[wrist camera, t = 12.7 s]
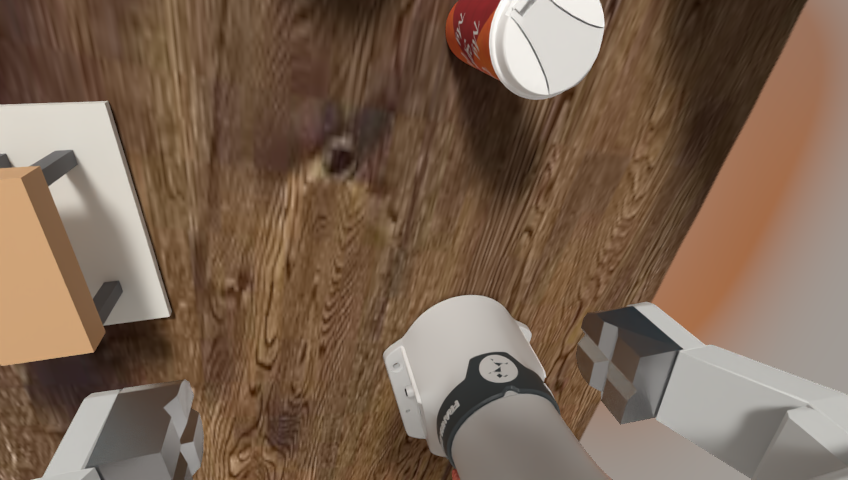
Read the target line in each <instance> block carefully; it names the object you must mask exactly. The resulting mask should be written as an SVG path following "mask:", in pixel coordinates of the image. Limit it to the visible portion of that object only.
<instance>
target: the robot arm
mask: <svg viewBox="0 0 848 480" xmlns="http://www.w3.org/2000/svg"><path fill="white" fill-rule="evenodd" d="M581 328H582V330H583V331H584V333H585V334H586V335H585V336H584V337H583V338H582V339H581V341H580V342H579V343H578V346H577V352H576V359H577V364H578V368H579V370H580V373H581V375H582V377H583V378H584V379H585V381H586V382H587V383H588V385H590V386H592V387H593V388H595V389H597V390H599V391H601V401H602V402H603V403H604V404H605V406H606V407H607V408H608V410H609V411H610V412H611V413H612V414H613V416H614V417H615V418H616V420H617V421H618V422H619V423H620V424H625V423H630V422H635V421H640V420H645V419H650V418H655V417H656V420H657V421H659V422H661V423H662V424H664V425H665V426H667V427H669V428H670V429H672V430H673V431H675V432H677V433H678V434H680V435H681V436H683V437H685V438H686V439H688V440H689V441H691V442H693V443H695V444H696V445H698V446H699V447H701V448H702V449H704V450H706V451H707V452H709V453H710V454H712V455H714V456H715V457H717V458H718V459H720V460H722V461H723V462H725V463H727V464H728V465H730V466H731V467H733V468H735V469H736V470H738V471H739V472H741V473H743V474H744V475H746V476H747V477H749V478H751V480H848V395H847V394H844V393H842V392H839V391H836V390H834V389H831V388H828V387H825V386H822V385H820V384H817V383H815V382H812V381H809V380H806V379H803V378H801V377H798V376H796V375H793V374H790V373H788V372H785V371H782V370H779V369H777V368H774V367H771V366H769V365H766V364H763V363H760V362H758V361H755V360H752V359H750V358H747V357H744V356H741V355H739V354H736V353H733V352H730V351H728V350H725V349H723V348H720V347H717V346H714V345H707V346H706V345H705V344H703V343H702V342H701V341H699V340H698V339H697V338H696V337H694V336H693V335H692V334H691V333H689V332H688V331H687V330H686V329H684V328H683V327H682V326H681V325H680V324H678V323H677V322H676V321H675V320H673V319H672V318H671V317H670V316H668V315H667V314H666V313H665V312H663V311H662V310H661V309H660V308H658V307H657V306H656V305H655V304H652V303H649V302H643V303H638V304H633V305H628V306H625V307H618V308H613V309H607V310H601V311H595V312H589V313H587V314H586V316H585V317H584V318H583V322H582V326H581ZM530 339H531V332H530V330H529V328H528V327H527V326H526V325H525V324H523V323H521V322H519V321H516V320H514V319H513V318H512V317H511V315H510V314H509V313H508V311H507V310H506V309H505V307H503V306H502V305H501V304H500V303H499V302H497V301H495V300H493V299H491V298H488V297H484V296H479V295H464V296H458V297H453V298H450V299H447V300H444V301H442V302H440V303H438V304H436V305H434V306H433V307H431V308H430V309H428V310H427V311H425V312H424V313H423V314H422V315H421V316H420V317H419V318H418V319H417V320H416V321H415V322H414V323H413V324H412V326H411V327H410V328H409V330H408V331H407V333H406V334H405V335H404V336H403V337H402V338H401V339H400V340H398V341H397V342H395V343H394V344H392V345H391V346H390V347H389V348H387V349H386V350H385V352H384V354H383V359H384V363H385V366H386V369H387V372H388V376H389V379H390V382H391V386H392V389H393V392H394V395H395V399H396V402H397V405H398V408H399V412H400V415H401V418H402V421H403V425H404V428H405V430H406V432H407V434H408V436H411V437H414V438H421V439H426V441H427V444H428V447H429V450H430V452H431V453H433V454H435V455H437V456H441V457H446V458H447V459H449V461H450V463H451V465H452V466H453V467H454V468H455V469H453V470H452V478H453V480H613V479H611V478H610V477H609V476H608V475H607V474H606V473H605V472H604V471H603V470H602V469H601V468H600V467H599V466H598V465H597V464H596V463H595V461H594V460H593V459H592V458H591V457H590V455H589V454H588V453H587V452H586V450H585V449H584V448H583V447H582V445H581V444H580V443H579V441H578V440H577V439H576V437H575V436H574V435H573V433H572V432H571V430H570V429H569V428H568V426H567V425H566V424H565V422H564V421H563V419H562V418H561V416H560V410H559V407H558V404H557V403H556V401H555V399H554V396H553V394H552V392H551V391H550V389H549V388H548V386H547V385H546V384H545V383H544V378H546V373H545V371H544V369H543V367H542V365H541V363H540V361H539V360H538V358H537V356H536V354H535V353H534V351H533V349H532V347H531V346H530V344H529V342H530ZM395 363H398V364H395ZM394 364H395V365H394ZM193 396H194V395H193V392H192V389H191V386H190V383H189V382H188V381H187V380H178V381H171V382H164V383H157V384H150V385H143V386H136V387H129V388H124V389H119V390H112V391H105V392H98V393H92V394H90V395H89V396H88V397H86V398H85V399H84V400H83V402H82V404H81V406H80V408H79V409H78V411H77V413H76V415H75V417H74V419H73V421H72V423H71V424H70V426H69V428H68V430H67V432H66V434H65V436H64V438H63V439H62V441H61V443H60V445H59V447H58V449H57V451H56V453H55V454H54V456H53V458H52V460H51V462H50V464H49V466H48V468H47V470H46V471H45V473H44V475H43V477H42V478H38V479H33V480H193V478H192V475H193V474H194V473H195V472H196V471H197V470H198V469H199V467H200V466H201V461H202V456H203V440H204V434H203V427H202V421H201V418H200V414H199V413H198V412H197V411H195V410H194V409H192V408H191V404H192V400H193Z"/></svg>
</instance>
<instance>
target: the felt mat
mask: <svg viewBox="0 0 848 480" xmlns="http://www.w3.org/2000/svg"><path fill="white" fill-rule="evenodd" d="M59 150H73V152H74V155H75V157H76V160H77V163H78V165H77V166H75V167H74V168H73V169H71V170H70V171H69V172H67V173H66V174H65V175H63V176H62V177H61V178H59V179H58V180H56V181H55V182H54V183H52V184H51V185H50V186H48V187H49V190H50V192H51V195H52V197H53V200H54V203H55V205H56V208H57V210H58V213H59V215H60V218H61V220H62V223H63V225H64V228H65V230H66V233H67V235H68V238H69V241H70V243H71V246H72V248H73V251H74V253H75V256H76V258H77V261H78V263H79V266H80V268H81V271H82V273H83V276H84V278H85V281H86V284H87V286H88V289H89V291H90V294H91V296H92V299H93V298H94V296H95V295H96V293H97V292H98V290H99V289H100V287H101V286H102V285H103V283H104V282H110V281H119V282H120V284H121V287H122V290H123V293H122V294H121V296H120V298H119V299H118V301H117V303H116V304H115V306H114V308H113V310H112V311H111V313H110V315H109V316H108V318H107V320H106V321H105V323H104V325H112V324H119V323H127V322H134V321H141V320H149V319H156V318H164V317H170V315H171V313H172V310H171V307H170V304H169V301H168V297H167V294H166V291H165V287H164V284H163V281H162V277H161V274H160V271H159V267H158V264H157V261H156V257H155V254H154V251H153V248H152V244H151V241H150V238H149V234H148V231H147V228H146V224H145V221H144V218H143V214H142V211H141V208H140V204H139V201H138V198H137V195H136V191H135V188H134V185H133V181H132V178H131V175H130V171H129V168H128V165H127V161H126V158H125V155H124V151H123V148H122V145H121V142H120V138H119V135H118V132H117V128H116V125H115V122H114V118H113V115H112V112H111V108H110V105H109V102H108V101H99V102H68V103H38V104H8V105H0V154H4V153H6V155H7V157H8V159H9V162H10V164H11V166H12V168H13V167H29V166H31V165H32V164H34V163H35V162H37V161H39V160H40V159H42V158H44V157H45V156H47V155H49V154H50V153H52V152H54V151H59ZM104 325H103V326H104Z"/></svg>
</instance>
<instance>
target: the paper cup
mask: <svg viewBox="0 0 848 480" xmlns="http://www.w3.org/2000/svg"><path fill="white" fill-rule="evenodd" d="M445 31H446V39H447V43H448V45H449V47H450V49H451V51H452V52H453V53H454V55H455V56H456V57H458V58H459V59H460V60H462V61H463V62H465V63H467V64H469V65H470V66H472V67H474V68H476V69H478V70H480V71H482V72H484V73H486V74H488V75H490V76H491V77H493V78H495V79H497V80H499V81H501V82H502V83H503V85H504V86H505V87H506V88H507V89H509V90H510V91H511V92H513V93H514V94H516V95H518V96H520V97H523V98H527V99H534V100H538V99H546V98H551V97H553V96H556V95H558V94H560V93H562V92H564V91H566V90H568V89H570V88H572V87H574V86H575V85H577V84H578V83H579V82H580V81H581V80H582V79H583V78H584V77H585V76H586V75H587V73H588V72H589V70H590V69H591V67H592V65H593V63H594V61H595V59H596V57H597V55H598V52H599V50H600V46H601V42H602V37H603V32H604V14H603V10H602V6H601V4H600V1H599V0H459V1H458V2H457V3H456V4H455V5H454V6H453V8H452V9H451V11H450V13H449V15H448V18H447V21H446V30H445Z"/></svg>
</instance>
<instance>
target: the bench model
mask: <svg viewBox="0 0 848 480" xmlns="http://www.w3.org/2000/svg"><path fill="white" fill-rule="evenodd" d="M77 165H78V163H77V160H76V157H75V155H74V152H73V150H59V151H54V152H52V153H50V154H49V155H47V156H45V157H44V158H42V159H40V160H39V161H37V162H35V163H34V164H32V165H31V166H29V167H13V168H12V166H11V164H10V162H9V159H8V157H7V155H6V153H4V154H0V365H1V366H4V365H11V364H18V363H25V362H32V361H38V360H45V359H52V358H59V357H66V356H72V355H79V354H86V353H93V352H95V350H96V348H97V346H98V345H99V343H100V341H101V339H102V338H103V336H104V334H105V329H104V327H103V325H104V323H105V321H106V320H107V318H108V316H109V315H110V313H111V311H112V310H113V308H114V306H115V304H116V303H117V301H118V299H119V298H120V296H121V294H122V293H123V290H122V287H121V284H120V282H119V281H110V282H104V283H103V285H102V286H101V287H100V289H99V290H98V292H97V293H96V295H95V296H94V298H93V299H92V296H91V294H90V291H89V289H88V286H87V284H86V281H85V278H84V276H83V273H82V271H81V268H80V266H79V263H78V261H77V258H76V256H75V253H74V251H73V248H72V246H71V243H70V241H69V238H68V235H67V233H66V230H65V228H64V225H63V223H62V220H61V218H60V215H59V213H58V210H57V208H56V205H55V203H54V200H53V197H52V195H51V192H50V190H49V187H48V186H50V185H51V184H52V183H54V182H55V181H56V180H58V179H59V178H61V177H62V176H63V175H65V174H66V173H67V172H69V171H70V170H71V169H73V168H74V167H75V166H77Z"/></svg>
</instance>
